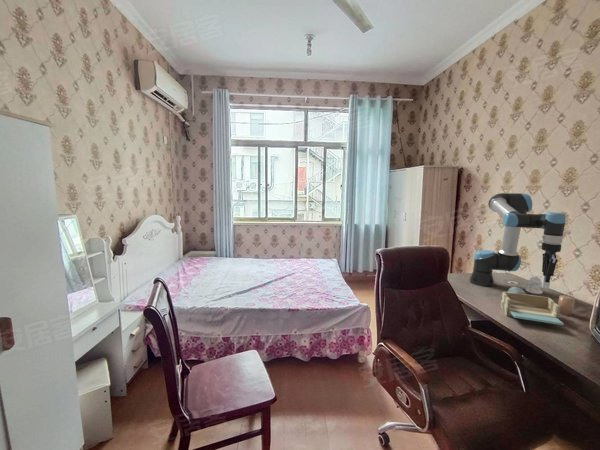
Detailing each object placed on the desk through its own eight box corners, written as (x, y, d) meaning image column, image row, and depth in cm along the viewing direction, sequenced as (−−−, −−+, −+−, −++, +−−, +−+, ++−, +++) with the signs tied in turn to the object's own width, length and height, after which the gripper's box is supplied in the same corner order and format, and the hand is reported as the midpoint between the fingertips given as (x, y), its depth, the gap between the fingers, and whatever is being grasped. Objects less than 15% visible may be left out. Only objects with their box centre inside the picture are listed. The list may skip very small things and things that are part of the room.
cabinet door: (509, 310, 157) (514, 315, 149) (556, 317, 150) (564, 323, 142) (509, 312, 157) (514, 317, 149) (556, 319, 150) (563, 325, 142)
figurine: (522, 287, 203) (524, 272, 201) (539, 289, 199) (541, 274, 198) (527, 293, 192) (529, 277, 190) (545, 295, 188) (547, 279, 187)
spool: (530, 302, 168) (522, 285, 172) (511, 306, 173) (503, 289, 176) (529, 300, 179) (521, 284, 183) (511, 304, 184) (503, 288, 187)
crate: (500, 306, 171) (502, 291, 170) (547, 312, 163) (549, 297, 161) (506, 316, 158) (508, 300, 157) (557, 324, 150) (560, 307, 149)
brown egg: (555, 309, 167) (557, 294, 166) (569, 311, 165) (571, 296, 163) (559, 314, 161) (562, 298, 160) (574, 316, 159) (577, 300, 158)
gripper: (538, 240, 156) (532, 282, 160) (547, 244, 145) (540, 290, 148) (556, 241, 153) (549, 284, 157) (566, 246, 142) (559, 293, 145)
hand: (545, 287), depth 153 cm, fingers closed
